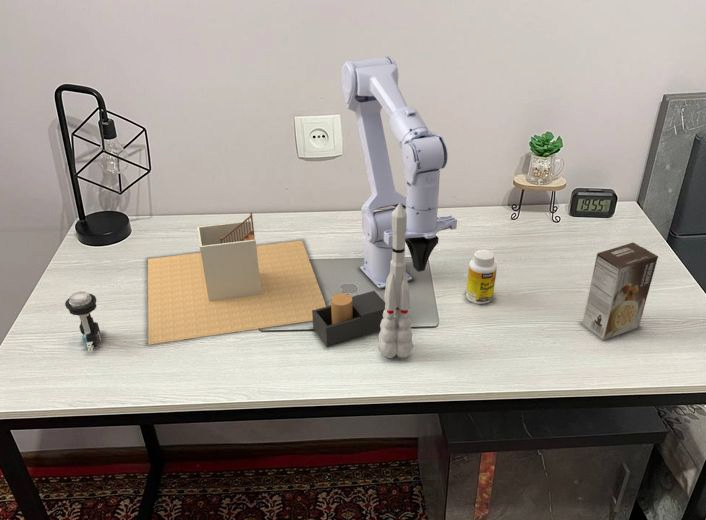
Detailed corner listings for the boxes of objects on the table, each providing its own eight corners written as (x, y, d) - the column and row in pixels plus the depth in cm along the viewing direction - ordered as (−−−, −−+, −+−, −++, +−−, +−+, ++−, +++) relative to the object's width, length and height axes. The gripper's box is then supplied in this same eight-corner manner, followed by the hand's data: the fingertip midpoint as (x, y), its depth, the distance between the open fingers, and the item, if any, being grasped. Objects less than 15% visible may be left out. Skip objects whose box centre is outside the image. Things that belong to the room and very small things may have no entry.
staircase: (262, 294, 145) (254, 221, 135) (209, 301, 143) (196, 228, 133) (257, 272, 152) (249, 202, 141) (206, 279, 149) (194, 208, 139)
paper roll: (348, 321, 136) (329, 326, 135) (347, 291, 132) (327, 296, 131) (356, 332, 133) (336, 337, 132) (355, 302, 129) (335, 307, 128)
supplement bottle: (477, 308, 141) (482, 264, 134) (460, 295, 144) (464, 252, 138) (498, 299, 143) (504, 256, 137) (480, 287, 147) (485, 244, 141)
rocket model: (397, 370, 125) (401, 218, 107) (367, 352, 129) (366, 204, 111) (423, 351, 129) (432, 202, 111) (393, 335, 133) (397, 189, 115)
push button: (105, 351, 129) (92, 307, 123) (75, 355, 128) (60, 310, 122) (108, 331, 134) (96, 287, 128) (79, 334, 134) (65, 290, 128)
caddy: (313, 329, 135) (311, 307, 132) (374, 311, 140) (374, 290, 137) (327, 347, 130) (325, 325, 127) (389, 328, 135) (390, 307, 132)
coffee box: (616, 311, 140) (634, 240, 130) (639, 328, 135) (660, 256, 125) (580, 324, 136) (596, 252, 126) (603, 341, 132) (621, 268, 122)
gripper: (397, 221, 120) (395, 287, 128) (468, 204, 125) (462, 269, 134) (378, 204, 125) (378, 270, 133) (447, 189, 130) (442, 253, 139)
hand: (418, 268), depth 134 cm, fingers closed
